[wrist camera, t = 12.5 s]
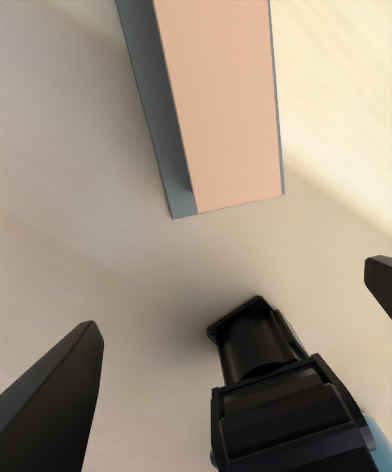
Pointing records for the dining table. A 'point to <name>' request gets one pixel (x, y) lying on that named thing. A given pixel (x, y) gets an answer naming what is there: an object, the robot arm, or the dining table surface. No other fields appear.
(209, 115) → the terracotta block
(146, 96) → the mat
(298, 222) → the dining table surface
